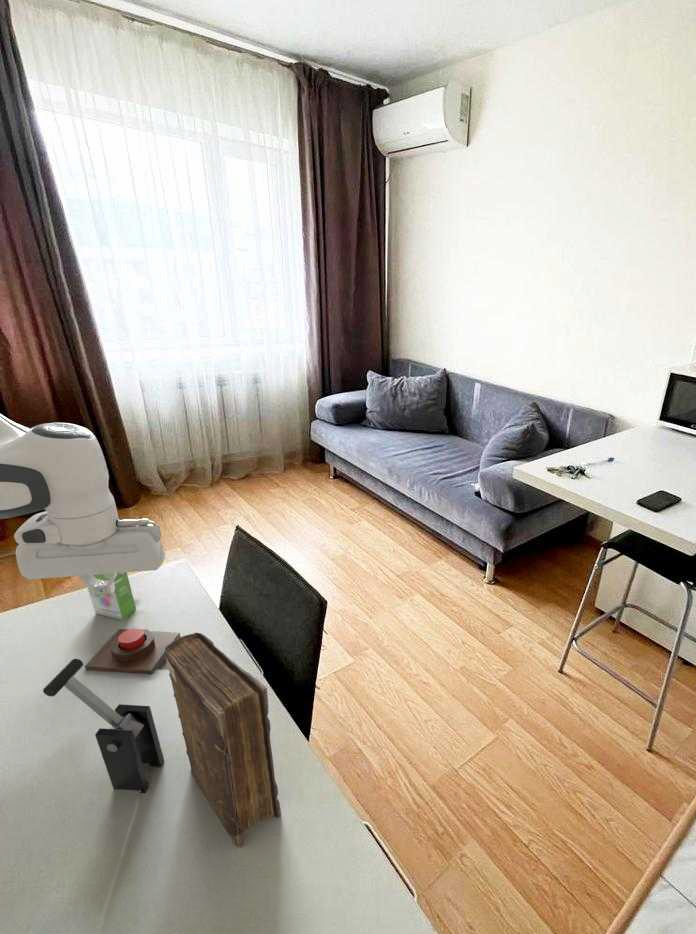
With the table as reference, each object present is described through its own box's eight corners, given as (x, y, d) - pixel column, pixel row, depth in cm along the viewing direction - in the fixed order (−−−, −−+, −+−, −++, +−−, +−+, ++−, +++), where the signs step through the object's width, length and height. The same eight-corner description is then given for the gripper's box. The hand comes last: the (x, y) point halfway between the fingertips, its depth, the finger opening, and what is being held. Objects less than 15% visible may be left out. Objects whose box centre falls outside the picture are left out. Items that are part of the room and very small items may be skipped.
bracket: (79, 809, 68) (54, 746, 63) (120, 751, 77) (101, 690, 71) (165, 815, 68) (147, 752, 63) (197, 756, 77) (184, 696, 71)
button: (115, 649, 91) (113, 642, 90) (128, 634, 94) (126, 627, 94) (137, 651, 91) (135, 643, 90) (149, 636, 94) (147, 628, 94)
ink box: (94, 614, 104) (78, 561, 98) (110, 603, 107) (95, 551, 102) (121, 621, 103) (107, 567, 97) (137, 609, 106) (124, 557, 101)
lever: (38, 691, 62) (50, 684, 61) (67, 662, 66) (79, 655, 66) (115, 754, 66) (128, 748, 66) (138, 722, 71) (150, 717, 70)
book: (188, 769, 74) (157, 641, 64) (234, 742, 79) (213, 618, 69) (234, 858, 64) (207, 723, 54) (285, 821, 69) (269, 689, 58)
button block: (87, 675, 89) (81, 658, 88) (121, 637, 99) (117, 621, 97) (153, 679, 89) (148, 662, 88) (181, 641, 99) (178, 625, 97)
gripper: (162, 510, 85) (175, 576, 91) (21, 516, 80) (44, 586, 85) (152, 527, 79) (166, 597, 85) (0, 535, 74) (26, 609, 80)
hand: (104, 592), depth 85 cm, fingers closed
